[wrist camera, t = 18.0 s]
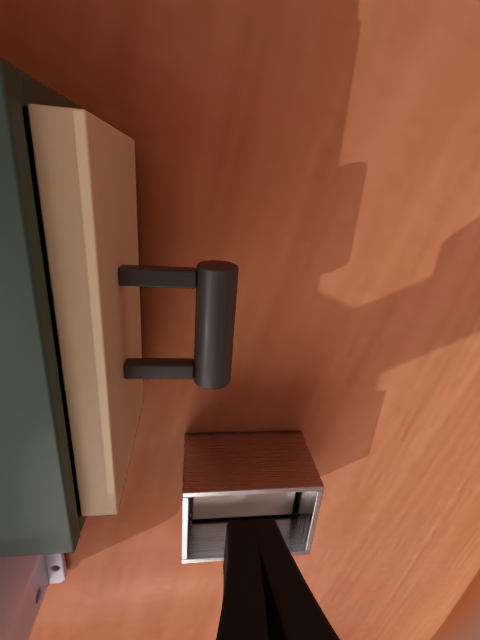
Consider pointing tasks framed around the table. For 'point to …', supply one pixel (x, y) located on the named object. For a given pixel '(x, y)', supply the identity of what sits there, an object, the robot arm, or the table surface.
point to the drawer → (110, 295)
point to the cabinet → (29, 352)
